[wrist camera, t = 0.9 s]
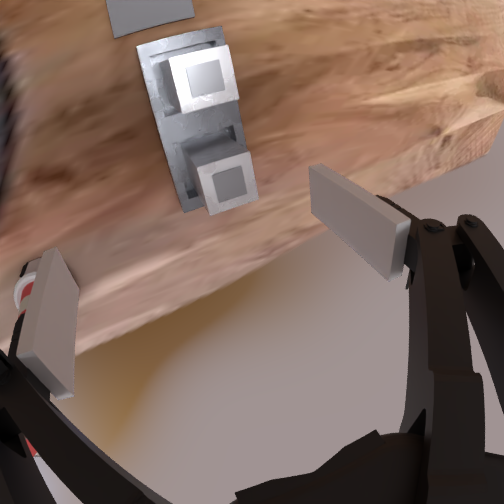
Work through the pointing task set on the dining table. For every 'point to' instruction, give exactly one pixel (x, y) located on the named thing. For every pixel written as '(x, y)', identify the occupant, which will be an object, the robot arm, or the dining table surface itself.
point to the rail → (192, 123)
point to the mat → (146, 14)
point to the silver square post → (220, 172)
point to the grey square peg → (199, 79)
